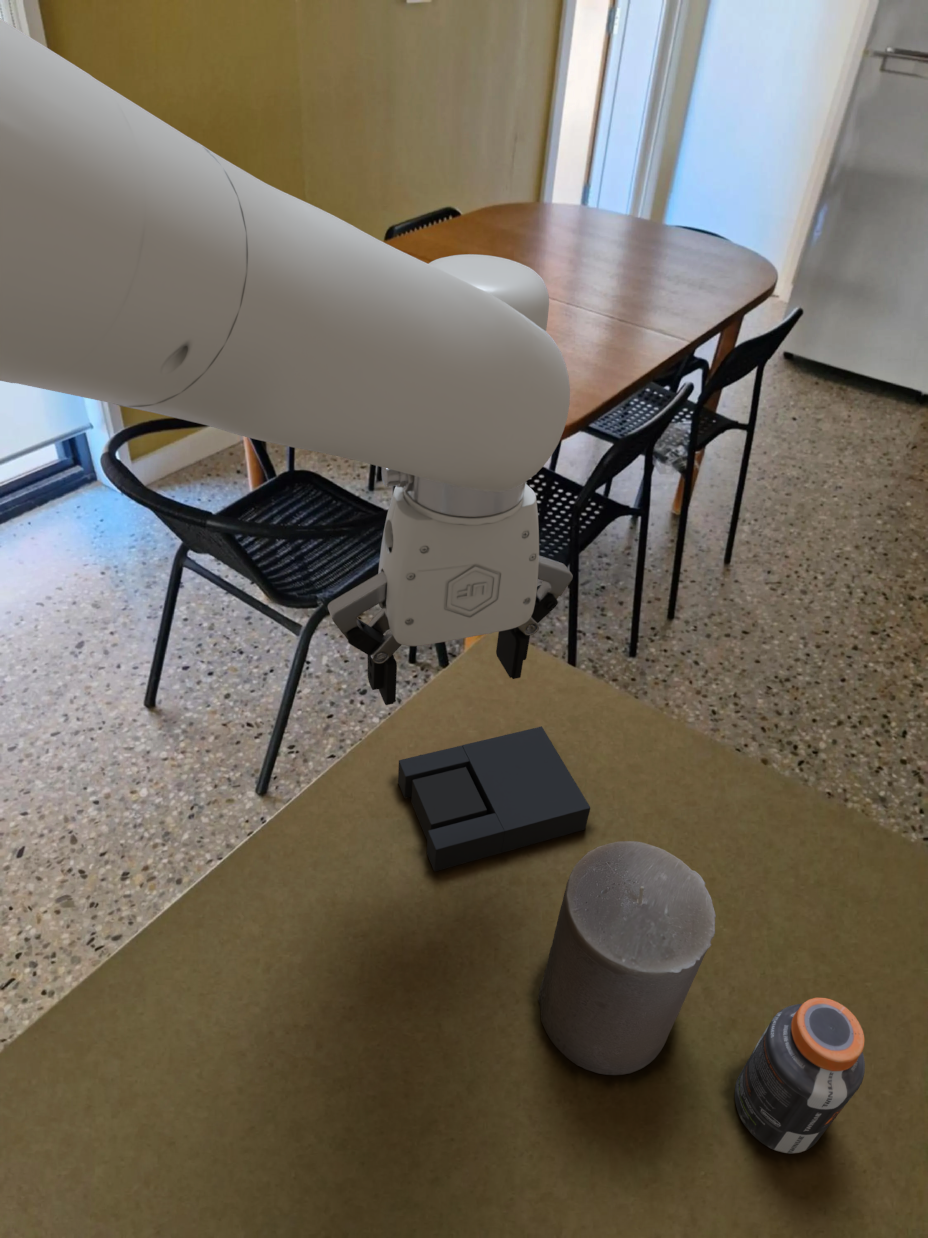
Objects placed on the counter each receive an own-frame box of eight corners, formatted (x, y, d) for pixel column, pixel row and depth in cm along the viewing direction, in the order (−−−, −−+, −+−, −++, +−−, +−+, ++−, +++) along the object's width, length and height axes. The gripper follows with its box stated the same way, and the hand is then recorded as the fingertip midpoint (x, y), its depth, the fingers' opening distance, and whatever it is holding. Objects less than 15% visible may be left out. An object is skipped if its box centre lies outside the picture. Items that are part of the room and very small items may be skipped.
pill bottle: (820, 1170, 58) (884, 1094, 50) (728, 1136, 59) (778, 1057, 52) (822, 1081, 62) (881, 1000, 55) (736, 1051, 63) (783, 967, 56)
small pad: (429, 846, 75) (431, 824, 73) (411, 802, 79) (412, 779, 77) (484, 832, 77) (487, 809, 75) (463, 788, 80) (466, 766, 78)
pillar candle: (512, 988, 66) (536, 867, 56) (611, 927, 70) (649, 806, 61) (596, 1106, 60) (639, 993, 50) (699, 1030, 64) (756, 914, 55)
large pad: (434, 872, 73) (435, 850, 71) (397, 782, 80) (398, 759, 78) (585, 829, 78) (590, 807, 76) (538, 748, 85) (542, 726, 83)
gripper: (343, 523, 49) (345, 739, 60) (617, 486, 55) (575, 690, 65) (311, 459, 54) (319, 667, 65) (564, 431, 60) (533, 627, 71)
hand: (447, 678), depth 65 cm, fingers open, 9 cm apart
